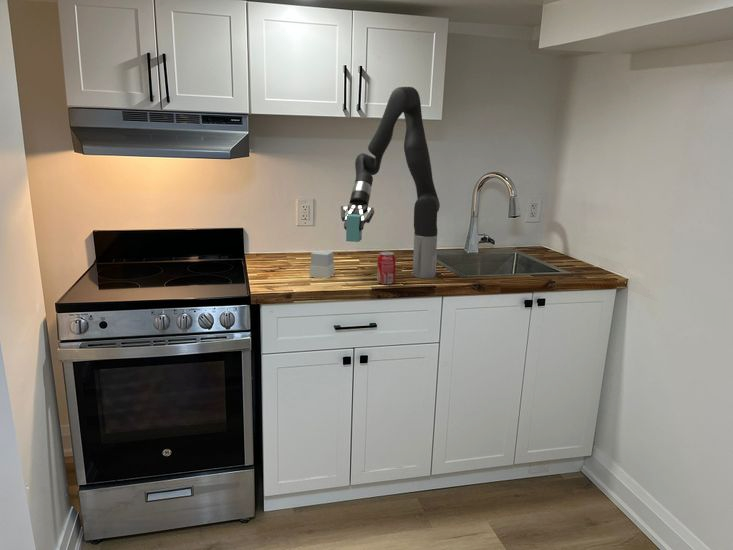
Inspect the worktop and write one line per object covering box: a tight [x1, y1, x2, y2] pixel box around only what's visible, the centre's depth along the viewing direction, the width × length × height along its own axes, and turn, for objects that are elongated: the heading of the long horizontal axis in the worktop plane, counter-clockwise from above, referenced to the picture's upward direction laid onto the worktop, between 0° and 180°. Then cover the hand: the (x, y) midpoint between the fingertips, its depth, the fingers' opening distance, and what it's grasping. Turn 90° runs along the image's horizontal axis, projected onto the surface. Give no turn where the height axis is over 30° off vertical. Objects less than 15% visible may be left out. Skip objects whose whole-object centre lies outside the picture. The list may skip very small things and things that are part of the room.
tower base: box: [309, 262, 335, 280], centre depth 222 cm, size 8×8×5 cm
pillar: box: [345, 214, 363, 243], centre depth 215 cm, size 5×5×10 cm
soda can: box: [376, 251, 397, 285], centre depth 213 cm, size 7×7×12 cm
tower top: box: [310, 249, 335, 267], centre depth 221 cm, size 7×7×5 cm
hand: (353, 229), depth 213 cm, fingers closed on pillar, 5 cm apart
